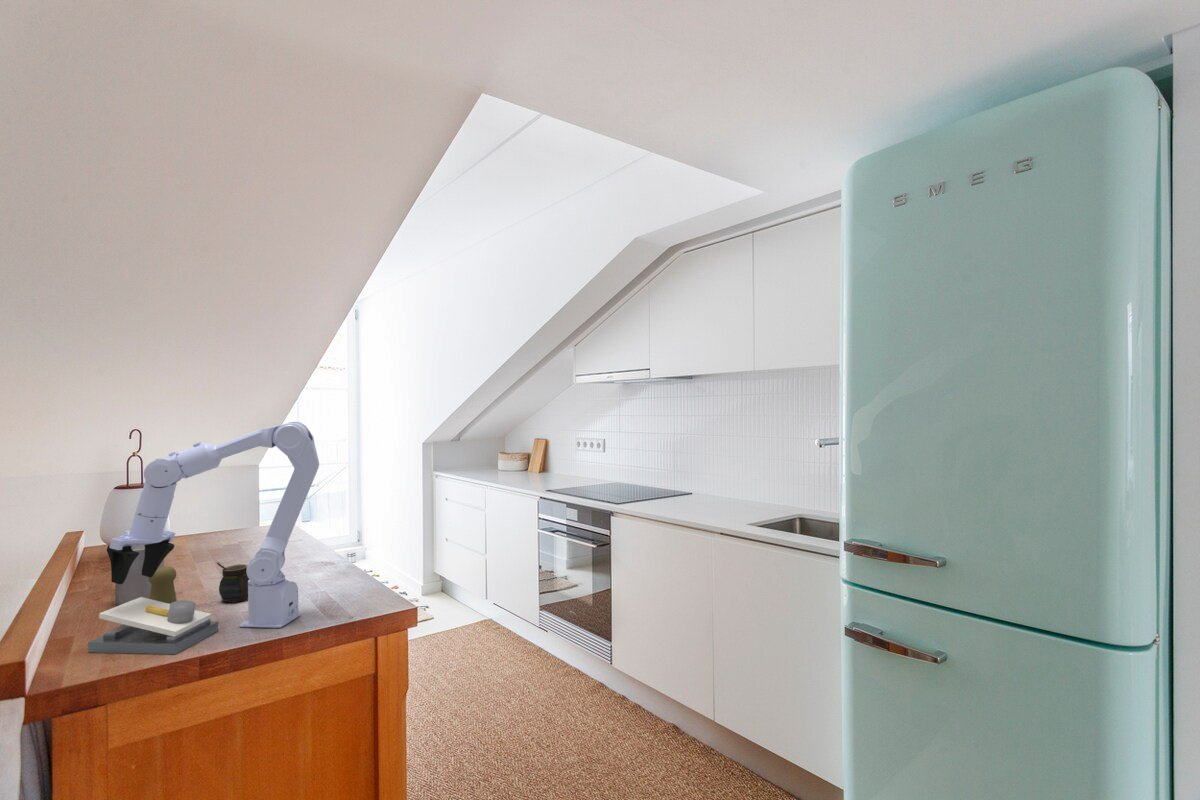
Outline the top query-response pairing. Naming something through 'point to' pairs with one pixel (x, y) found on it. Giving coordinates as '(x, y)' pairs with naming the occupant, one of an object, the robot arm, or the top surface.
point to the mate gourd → (234, 583)
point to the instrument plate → (157, 615)
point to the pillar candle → (134, 580)
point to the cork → (163, 585)
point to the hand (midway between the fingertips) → (132, 579)
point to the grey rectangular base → (149, 640)
